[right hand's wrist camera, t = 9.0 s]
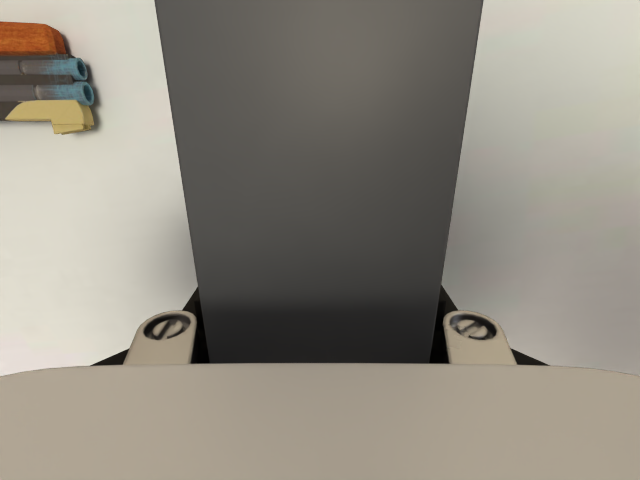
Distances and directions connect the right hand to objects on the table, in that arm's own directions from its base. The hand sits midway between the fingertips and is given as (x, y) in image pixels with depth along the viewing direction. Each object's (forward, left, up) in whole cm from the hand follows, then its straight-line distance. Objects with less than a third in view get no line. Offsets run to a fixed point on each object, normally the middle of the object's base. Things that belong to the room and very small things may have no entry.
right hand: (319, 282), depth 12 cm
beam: (+25, -11, -2) cm, 27 cm away
